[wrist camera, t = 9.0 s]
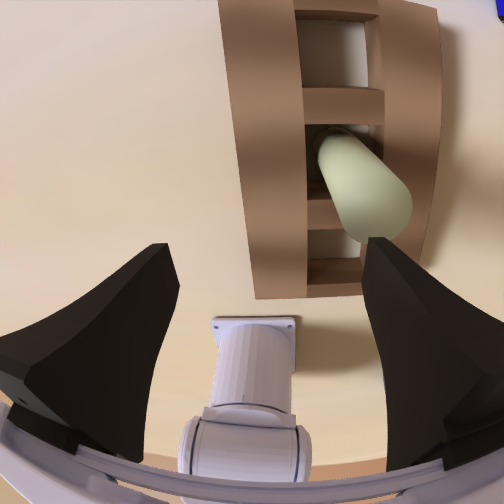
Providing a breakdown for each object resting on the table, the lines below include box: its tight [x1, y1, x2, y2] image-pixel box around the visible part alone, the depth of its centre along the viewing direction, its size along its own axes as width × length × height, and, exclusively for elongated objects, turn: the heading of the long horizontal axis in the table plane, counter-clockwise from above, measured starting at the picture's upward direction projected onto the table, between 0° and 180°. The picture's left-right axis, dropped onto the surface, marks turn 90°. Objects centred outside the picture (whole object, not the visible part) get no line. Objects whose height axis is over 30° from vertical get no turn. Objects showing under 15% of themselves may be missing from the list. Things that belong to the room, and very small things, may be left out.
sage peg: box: [314, 127, 413, 244], centre depth 14 cm, size 3×3×9 cm
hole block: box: [218, 0, 442, 299], centre depth 16 cm, size 20×12×3 cm, turn 6°
